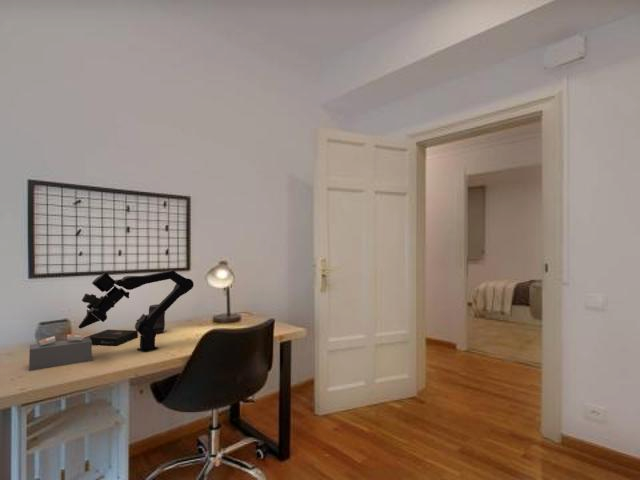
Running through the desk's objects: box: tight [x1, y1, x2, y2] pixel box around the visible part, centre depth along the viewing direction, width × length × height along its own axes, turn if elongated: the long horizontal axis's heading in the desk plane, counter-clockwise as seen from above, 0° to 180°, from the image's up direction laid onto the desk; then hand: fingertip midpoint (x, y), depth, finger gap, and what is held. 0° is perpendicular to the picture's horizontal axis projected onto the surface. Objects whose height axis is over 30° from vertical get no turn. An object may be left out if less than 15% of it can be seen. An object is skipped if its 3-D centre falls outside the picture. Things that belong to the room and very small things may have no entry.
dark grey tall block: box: [148, 303, 166, 335], centre depth 196 cm, size 8×8×15 cm
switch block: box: [28, 337, 93, 372], centre depth 145 cm, size 20×8×8 cm, turn 128°
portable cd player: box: [83, 329, 139, 347], centre depth 179 cm, size 16×17×4 cm
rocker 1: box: [38, 335, 57, 346], centre depth 143 cm, size 5×4×1 cm
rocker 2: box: [66, 334, 84, 340], centre depth 148 cm, size 5×4×1 cm
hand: (79, 327), depth 149 cm, fingers closed
